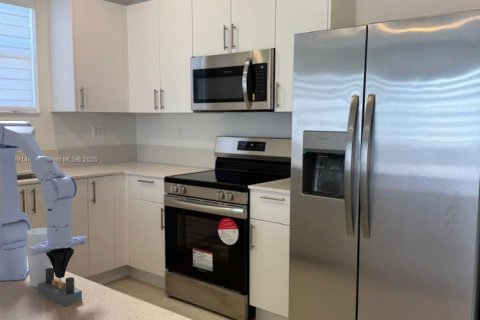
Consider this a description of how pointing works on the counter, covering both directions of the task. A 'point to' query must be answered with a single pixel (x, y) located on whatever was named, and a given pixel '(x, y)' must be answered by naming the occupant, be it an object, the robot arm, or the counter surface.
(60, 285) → the tan wooden dumbbell piece
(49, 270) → the cord plug back
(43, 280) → the drinking glass
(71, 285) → the cord plug front
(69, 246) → the robot arm
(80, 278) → the counter surface
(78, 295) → the grey base plate
